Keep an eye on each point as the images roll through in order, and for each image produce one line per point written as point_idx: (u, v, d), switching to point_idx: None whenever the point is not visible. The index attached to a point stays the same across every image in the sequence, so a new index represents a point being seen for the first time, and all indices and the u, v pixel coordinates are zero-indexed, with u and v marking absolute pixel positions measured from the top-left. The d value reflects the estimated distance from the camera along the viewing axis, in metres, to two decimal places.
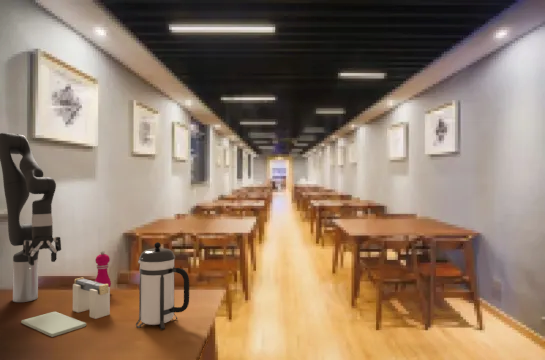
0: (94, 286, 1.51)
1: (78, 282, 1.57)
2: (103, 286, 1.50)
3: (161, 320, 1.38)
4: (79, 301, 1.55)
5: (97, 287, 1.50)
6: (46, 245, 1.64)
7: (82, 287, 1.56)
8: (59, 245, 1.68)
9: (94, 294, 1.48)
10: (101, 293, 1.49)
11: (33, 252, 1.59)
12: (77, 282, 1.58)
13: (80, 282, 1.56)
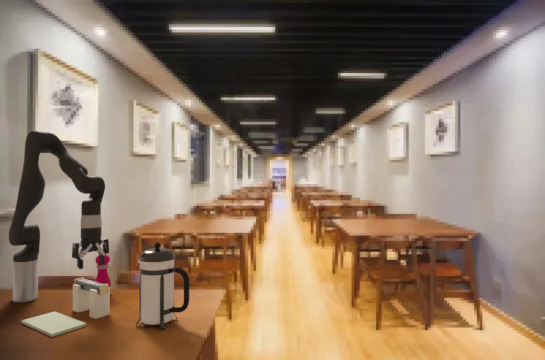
0: (94, 286, 1.51)
1: (78, 282, 1.57)
2: (103, 286, 1.50)
3: (161, 320, 1.38)
4: (79, 301, 1.55)
5: (97, 287, 1.50)
6: (95, 248, 1.55)
7: (82, 287, 1.56)
8: (107, 247, 1.59)
9: (94, 294, 1.48)
10: (101, 293, 1.49)
11: (82, 255, 1.51)
12: (77, 282, 1.58)
13: (80, 282, 1.56)
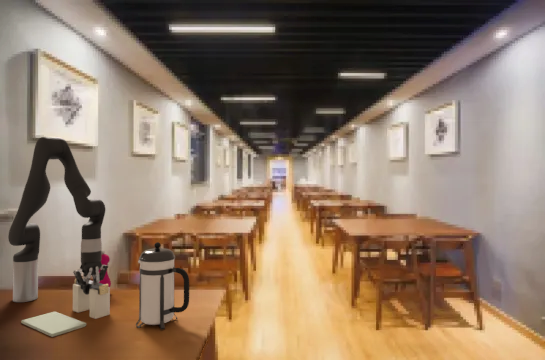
0: (94, 286, 1.51)
1: None
2: (103, 286, 1.50)
3: (161, 320, 1.38)
4: (79, 301, 1.55)
5: (97, 287, 1.50)
6: (93, 271, 1.55)
7: (82, 287, 1.56)
8: (103, 274, 1.58)
9: (94, 294, 1.48)
10: (101, 293, 1.49)
11: (88, 281, 1.53)
12: (77, 282, 1.58)
13: None
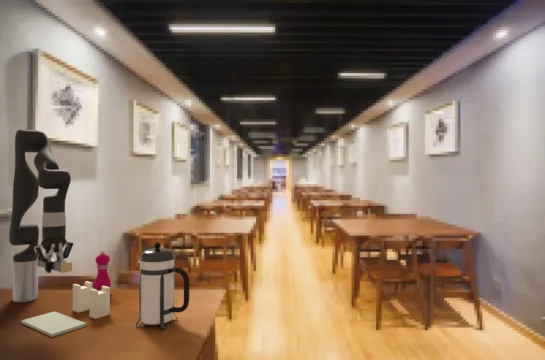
0: (56, 264, 1.38)
1: (41, 261, 1.44)
2: (66, 263, 1.37)
3: (161, 320, 1.38)
4: (79, 301, 1.55)
5: (59, 264, 1.37)
6: (56, 247, 1.42)
7: (44, 265, 1.43)
8: (68, 251, 1.45)
9: (94, 294, 1.48)
10: (63, 271, 1.36)
11: (50, 258, 1.40)
12: None
13: None
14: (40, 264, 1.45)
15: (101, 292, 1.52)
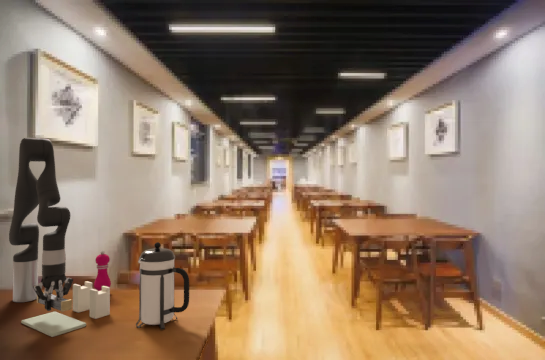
0: (56, 302, 1.38)
1: None
2: (65, 302, 1.37)
3: (161, 320, 1.38)
4: (79, 301, 1.55)
5: (59, 303, 1.37)
6: (56, 285, 1.42)
7: (44, 302, 1.43)
8: (68, 288, 1.45)
9: (94, 294, 1.48)
10: (63, 310, 1.36)
11: (50, 296, 1.40)
12: None
13: None
14: (40, 301, 1.44)
15: (101, 292, 1.52)
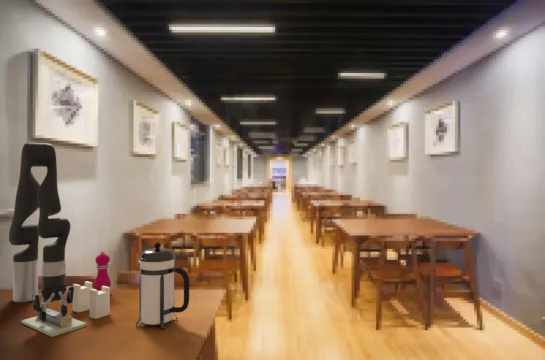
0: (56, 318, 1.38)
1: None
2: (65, 318, 1.37)
3: (161, 320, 1.38)
4: (79, 301, 1.55)
5: (59, 319, 1.37)
6: (57, 296, 1.42)
7: None
8: (71, 296, 1.46)
9: (94, 294, 1.48)
10: (63, 326, 1.36)
11: (45, 307, 1.38)
12: (39, 312, 1.45)
13: None
14: None
15: (101, 292, 1.52)
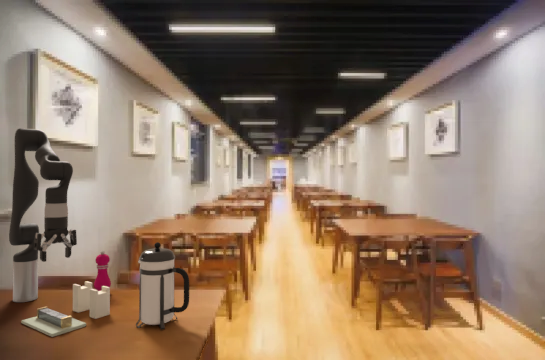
0: (56, 318, 1.38)
1: (40, 313, 1.44)
2: (65, 318, 1.37)
3: (161, 320, 1.38)
4: (79, 301, 1.55)
5: (59, 319, 1.37)
6: (60, 239, 1.43)
7: (44, 318, 1.43)
8: (74, 239, 1.48)
9: (94, 294, 1.48)
10: (63, 326, 1.36)
11: (45, 246, 1.39)
12: (39, 312, 1.45)
13: (42, 313, 1.44)
14: (40, 316, 1.45)
15: (101, 292, 1.52)
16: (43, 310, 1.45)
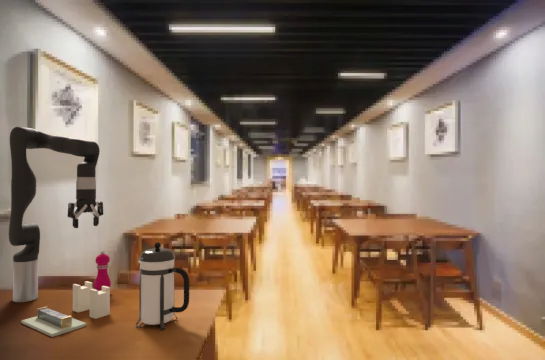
0: (56, 318, 1.38)
1: (40, 313, 1.44)
2: (65, 318, 1.37)
3: (161, 320, 1.38)
4: (79, 301, 1.55)
5: (59, 319, 1.37)
6: (90, 209, 1.63)
7: (44, 318, 1.43)
8: (101, 209, 1.67)
9: (94, 294, 1.48)
10: (63, 326, 1.36)
11: (77, 215, 1.58)
12: (39, 312, 1.45)
13: (42, 313, 1.44)
14: (40, 316, 1.45)
15: (101, 292, 1.52)
16: (43, 310, 1.45)
